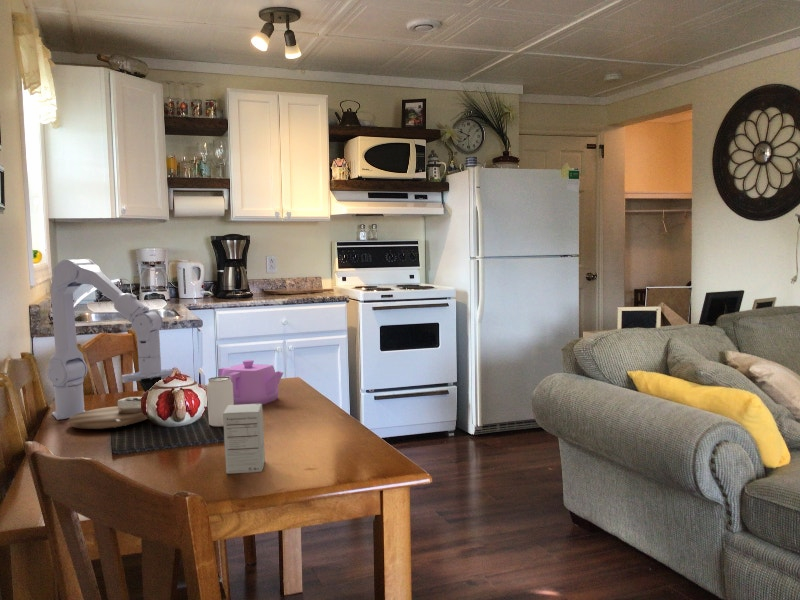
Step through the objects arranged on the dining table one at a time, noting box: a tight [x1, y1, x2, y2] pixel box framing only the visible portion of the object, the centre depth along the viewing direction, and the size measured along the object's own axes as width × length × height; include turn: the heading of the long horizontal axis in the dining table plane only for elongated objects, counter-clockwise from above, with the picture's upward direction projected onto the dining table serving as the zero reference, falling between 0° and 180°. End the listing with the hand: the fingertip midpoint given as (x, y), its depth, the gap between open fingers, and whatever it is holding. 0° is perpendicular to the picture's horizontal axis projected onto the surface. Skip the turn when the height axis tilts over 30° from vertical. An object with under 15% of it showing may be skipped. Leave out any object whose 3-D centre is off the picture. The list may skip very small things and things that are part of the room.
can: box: [206, 376, 234, 428], centre depth 184 cm, size 6×6×12 cm
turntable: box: [68, 405, 148, 430], centre depth 188 cm, size 20×20×1 cm
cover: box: [117, 396, 143, 414], centre depth 191 cm, size 7×7×3 cm
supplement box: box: [223, 404, 266, 474], centre depth 146 cm, size 7×7×13 cm
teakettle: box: [217, 359, 284, 406], centre depth 210 cm, size 17×17×12 cm
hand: (152, 405), depth 194 cm, fingers closed
